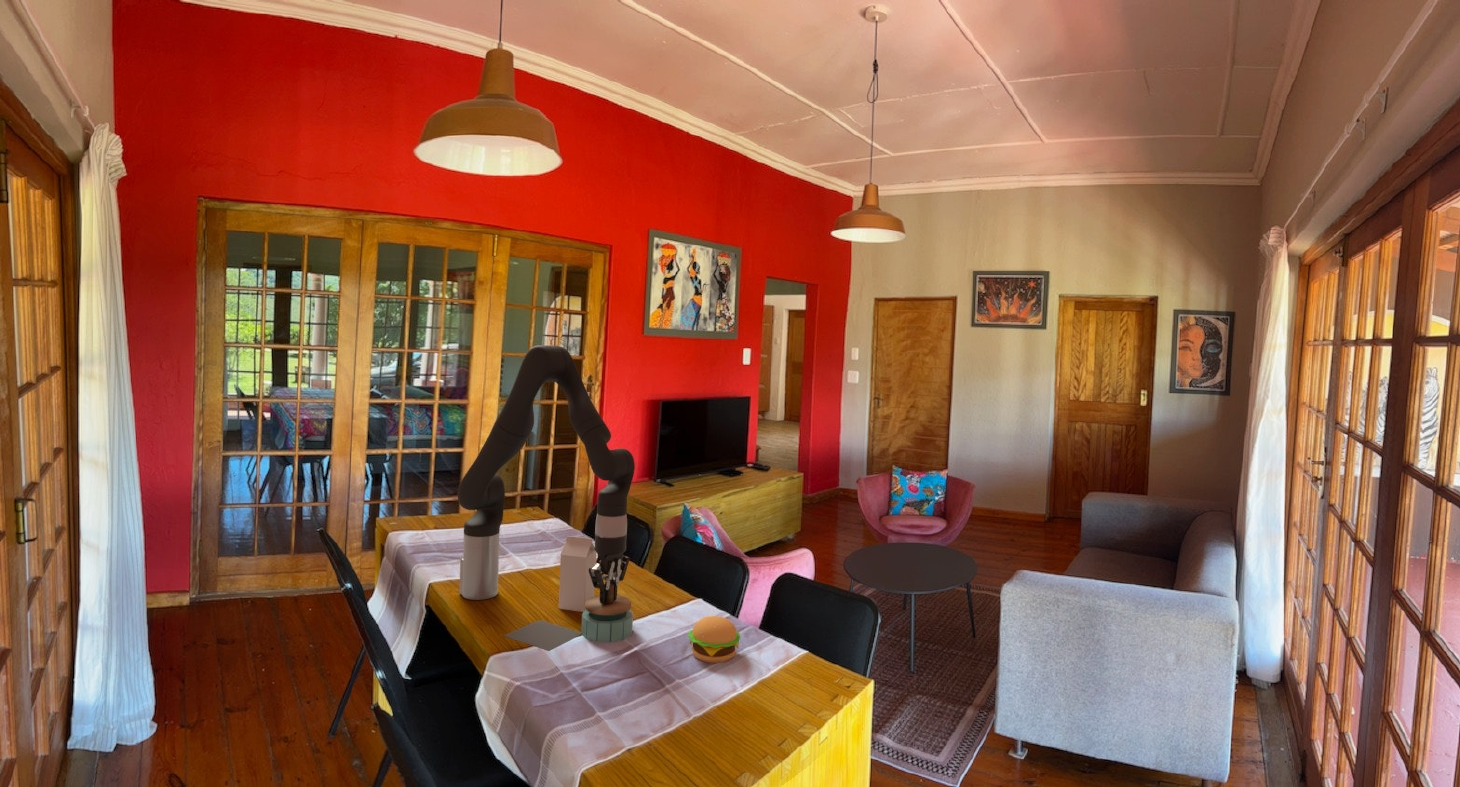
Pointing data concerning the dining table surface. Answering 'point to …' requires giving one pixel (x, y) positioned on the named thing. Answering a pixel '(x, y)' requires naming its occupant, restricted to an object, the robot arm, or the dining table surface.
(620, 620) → the bowl
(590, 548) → the milk carton
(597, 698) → the dining table surface
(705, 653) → the hamburger
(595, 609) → the lid
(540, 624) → the mat
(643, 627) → the dining table surface
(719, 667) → the dining table surface
